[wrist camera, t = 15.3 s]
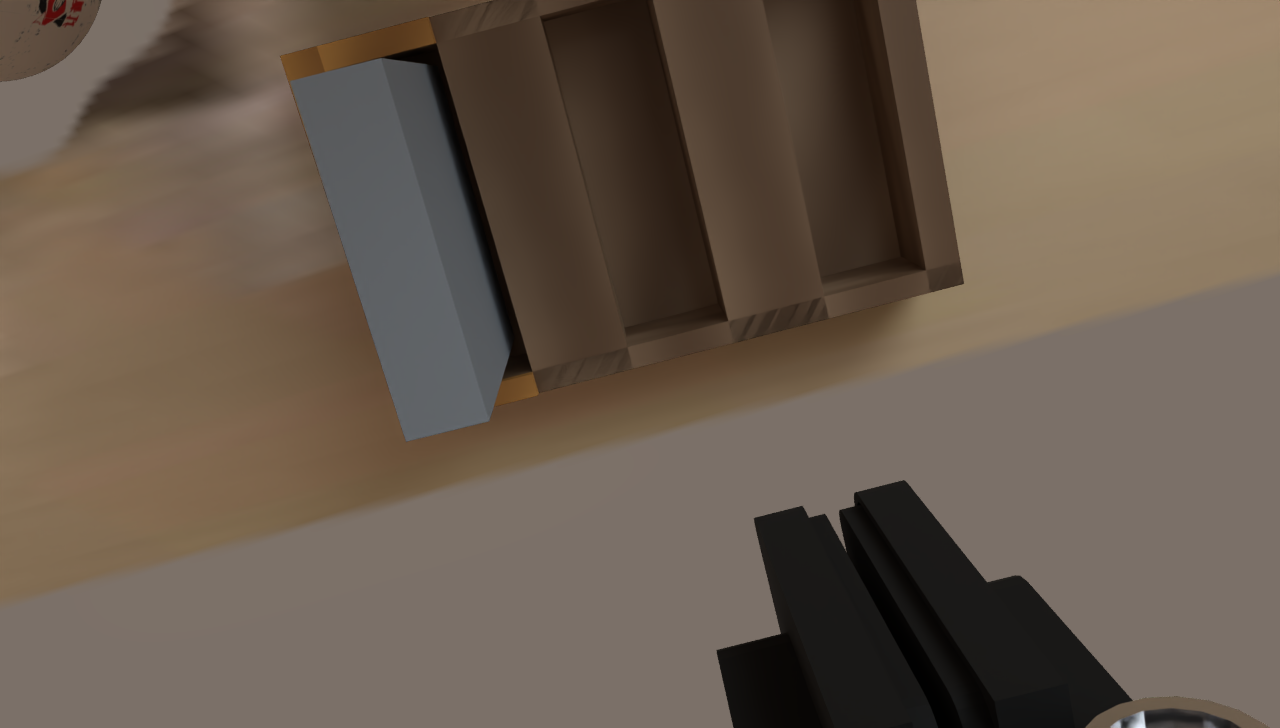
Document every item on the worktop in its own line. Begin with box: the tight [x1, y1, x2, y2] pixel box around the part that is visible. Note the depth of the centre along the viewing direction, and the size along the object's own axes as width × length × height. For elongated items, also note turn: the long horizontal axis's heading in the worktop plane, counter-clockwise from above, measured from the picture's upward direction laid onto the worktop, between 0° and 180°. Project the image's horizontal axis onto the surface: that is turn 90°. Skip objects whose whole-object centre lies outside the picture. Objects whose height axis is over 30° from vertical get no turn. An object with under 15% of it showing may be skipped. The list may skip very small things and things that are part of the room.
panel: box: [290, 58, 515, 442], centre depth 32 cm, size 2×10×10 cm, turn 14°
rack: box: [280, 0, 964, 407], centre depth 36 cm, size 20×13×5 cm, turn 104°
